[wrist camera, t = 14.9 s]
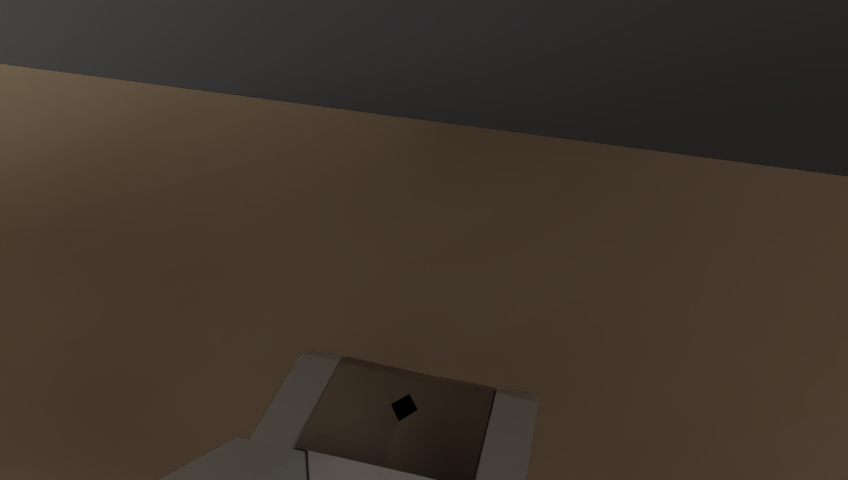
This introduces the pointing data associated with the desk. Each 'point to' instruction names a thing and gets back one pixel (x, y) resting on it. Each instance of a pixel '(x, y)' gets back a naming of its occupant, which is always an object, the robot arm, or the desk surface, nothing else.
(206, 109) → the desk surface
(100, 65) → the sliding jaw
